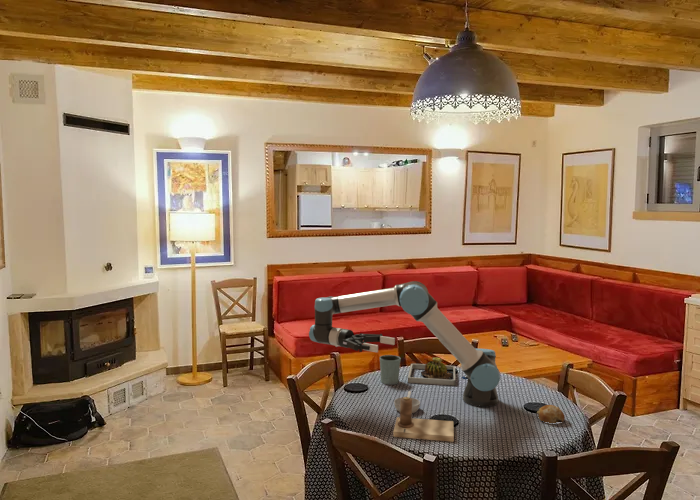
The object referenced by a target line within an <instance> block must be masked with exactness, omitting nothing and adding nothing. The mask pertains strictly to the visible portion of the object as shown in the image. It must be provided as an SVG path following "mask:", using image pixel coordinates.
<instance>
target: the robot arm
mask: <svg viewBox="0 0 700 500" xmlns="http://www.w3.org/2000/svg"><path fill="white" fill-rule="evenodd" d="M434 298H435V297H433V296H432V295H431V294H430V293H429V290H428V288H427V286H426V285H425V284H424V283H422V282H420V281H418V280H417V281H416V280H414V281H413V280H412V281H408V282H404V283H400V284H399V283H398V284H395V285H394V286H393V287H389V288H383V289H376V290H371V291H364V292H358V293H352V294H350V293H349V294H345V295H337V296H327V297H318V298H316V299H315V301H314V324H312V325H311V326H310V328H309V332H308V337H309V339H310V341H312V342H314V343H318V344H324V345H330V346H335V347H336V348H338V347H342V348H346V349H351V350H354V351H356V352H359V353H362V352H363V351H367V352H373V353H379V344H372V343H380V344H385V345H391V346H394V345H395V344H396V343H395V342H396V338H395V337H390V336H383V334H382V333H380V334H378V333H377V334H375V333H359V334H358V333H357V334H355V333H354V332H353V330H352V329H346V328H341V327H334V326H333V315H336V314H343V313H349V312H355V311H362V310H369V309H374V308H381V307H383V308H384V307H388V306H398V307H401V308H402V310H403V311H404V312H405V313H407V315H410V316H411V317H412V318H413V319H414V320H415V321H416V322H422V323H423V324H424V326H426V328H427V329H428V330H429V331H430V332H431V333H432V334H433V335H434V336H435V337H436V339H438V340H439V342H440V343H441V345H443V346H444V347H445V348H446V350H448V352H450V353H451V355H452V356H453V357H454V358H455V359H456V360H457V361H458V363H460V367H461V368H460V369H461V370H462V372H463V374H465V375H467V376H468V380H467V383H466V384H465V388H464V391H463V395H462V401H463V402H465V403H466V404H468V405H471V406H475V407H485V408H486V407H494V406H497V405H499V394H498V391H497V386H498V385H499V383H500V380H501V374H500V372H501V371H500V369H499V368H498V366H497V363H496V357H497V355H496V350H494V349H490V348H489V349H488V348H476V347H474V346H473V344H471V342H470V341H469V340H468V339H467V338H466V337H465V336H464V335H463V334H462V333H461V332H460V331H459V330H458V329H457V327H456V326H455V325H454V324H453V323H452V322H451V320H449V319H448V318H447V317H446V315H445V314H444V313H443V312H442V311H441V310H440V309H439V308H438V301H437V300H435V299H434Z"/></svg>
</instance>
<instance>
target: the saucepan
mask: <svg viewBox="0 0 700 500" xmlns="http://www.w3.org/2000/svg"><path fill="white" fill-rule="evenodd" d="M411 394H412V390H408V392H407V396H406V397H409V398H411V399H412V414H414V413H415V414H416V412H418V410H419V408H420V406H421V401H420V399H417V398H413V397H411ZM401 398H403V397H398V398H396V399H394V402H393V403H394V407H395V410H396V411H397V412H399V413H400V399H401Z"/></svg>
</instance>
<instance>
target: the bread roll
mask: <svg viewBox="0 0 700 500" xmlns="http://www.w3.org/2000/svg"><path fill="white" fill-rule="evenodd" d="M536 414H537V415H538V416H537V417H539V418H538V420H539V419H540V420H541V421H544V422H549V423H556V422H563V421H564V420H566V419H565V418H566V416H565V414H564V412H563V410H562V409H560V407H559V406H556V405H553V404H546V405H543V406H541V407H539V409H538V410H537V412H536ZM540 420H539V421H540ZM541 421H540V422H541ZM544 422H543V423H544ZM564 422H565V421H564ZM564 422H563V423H564Z"/></svg>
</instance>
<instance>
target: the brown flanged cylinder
mask: <svg viewBox="0 0 700 500" xmlns="http://www.w3.org/2000/svg"><path fill="white" fill-rule="evenodd" d="M400 398H401V399H400V412H399V413H400V414H399V417H400V421H399V422H398V426H400V427H403V428H411V427H413V426H414V423H413V422H412V418H413V417H412V416H413V413H412V399H411V398H412V397H410V398H409V397H407V396H404V397H403V398H402V397H400Z"/></svg>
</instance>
